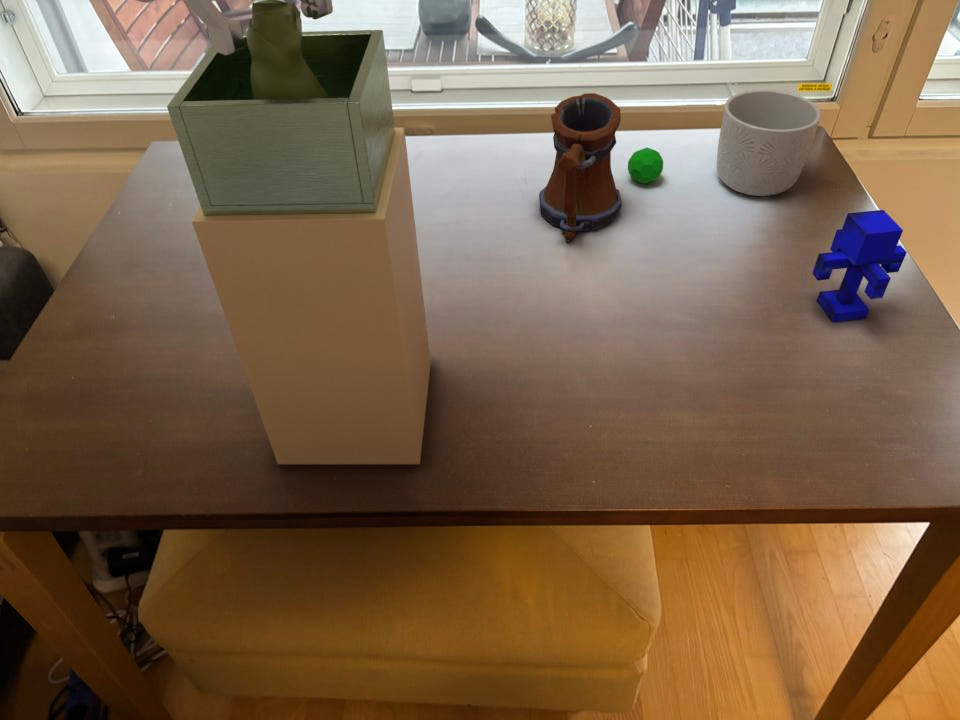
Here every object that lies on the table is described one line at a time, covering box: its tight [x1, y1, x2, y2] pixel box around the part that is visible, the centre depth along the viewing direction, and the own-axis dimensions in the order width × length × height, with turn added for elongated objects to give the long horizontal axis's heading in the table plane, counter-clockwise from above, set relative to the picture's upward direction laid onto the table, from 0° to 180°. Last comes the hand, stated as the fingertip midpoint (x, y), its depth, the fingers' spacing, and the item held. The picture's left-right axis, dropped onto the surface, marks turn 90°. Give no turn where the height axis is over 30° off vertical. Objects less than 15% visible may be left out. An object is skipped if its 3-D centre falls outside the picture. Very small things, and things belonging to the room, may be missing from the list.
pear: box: [246, 0, 328, 100], centre depth 53 cm, size 6×5×10 cm
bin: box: [166, 29, 431, 465], centre depth 65 cm, size 14×14×36 cm
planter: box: [716, 89, 822, 197], centre depth 104 cm, size 12×12×11 cm
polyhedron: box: [627, 147, 664, 184], centre depth 107 cm, size 5×5×5 cm
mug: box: [538, 92, 623, 242], centre depth 96 cm, size 18×12×15 cm, turn 164°
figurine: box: [811, 209, 908, 323], centre depth 83 cm, size 8×8×12 cm
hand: (276, 32), depth 51 cm, fingers open, 6 cm apart
